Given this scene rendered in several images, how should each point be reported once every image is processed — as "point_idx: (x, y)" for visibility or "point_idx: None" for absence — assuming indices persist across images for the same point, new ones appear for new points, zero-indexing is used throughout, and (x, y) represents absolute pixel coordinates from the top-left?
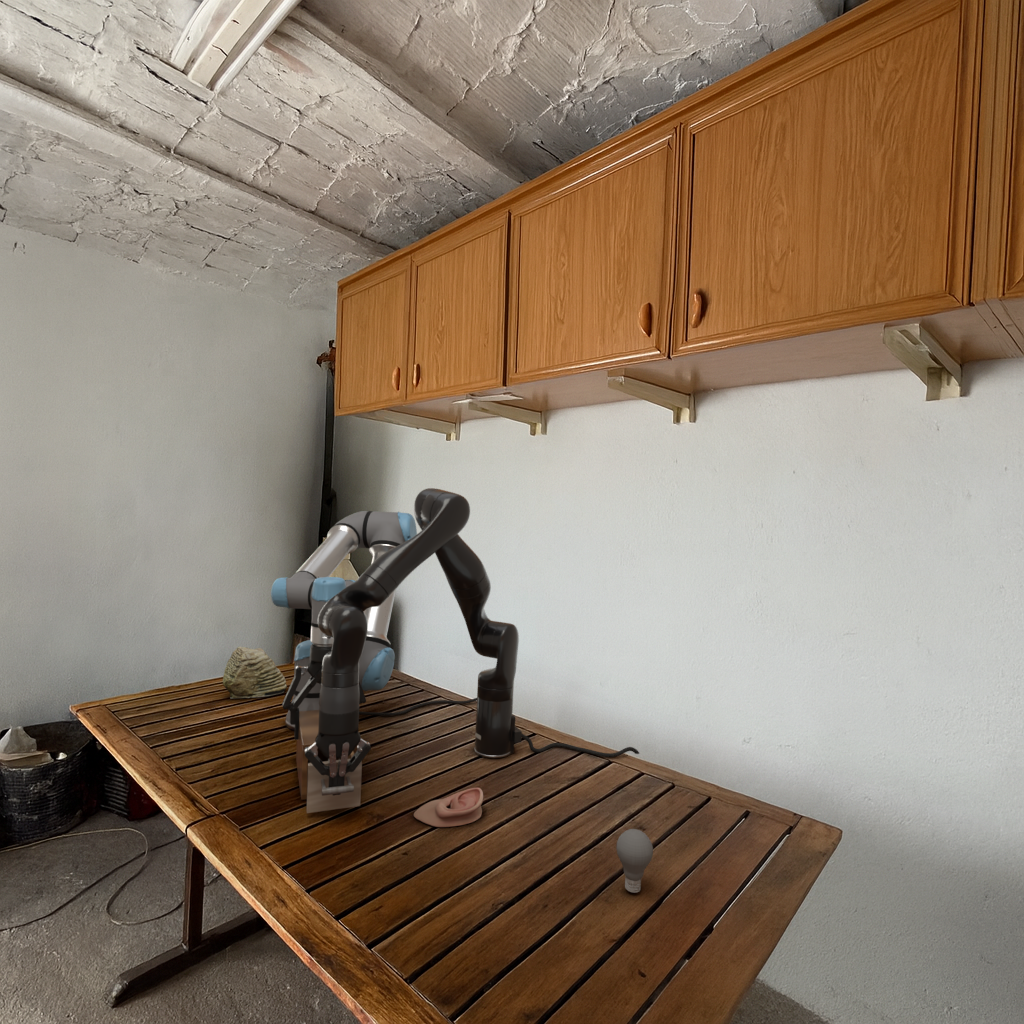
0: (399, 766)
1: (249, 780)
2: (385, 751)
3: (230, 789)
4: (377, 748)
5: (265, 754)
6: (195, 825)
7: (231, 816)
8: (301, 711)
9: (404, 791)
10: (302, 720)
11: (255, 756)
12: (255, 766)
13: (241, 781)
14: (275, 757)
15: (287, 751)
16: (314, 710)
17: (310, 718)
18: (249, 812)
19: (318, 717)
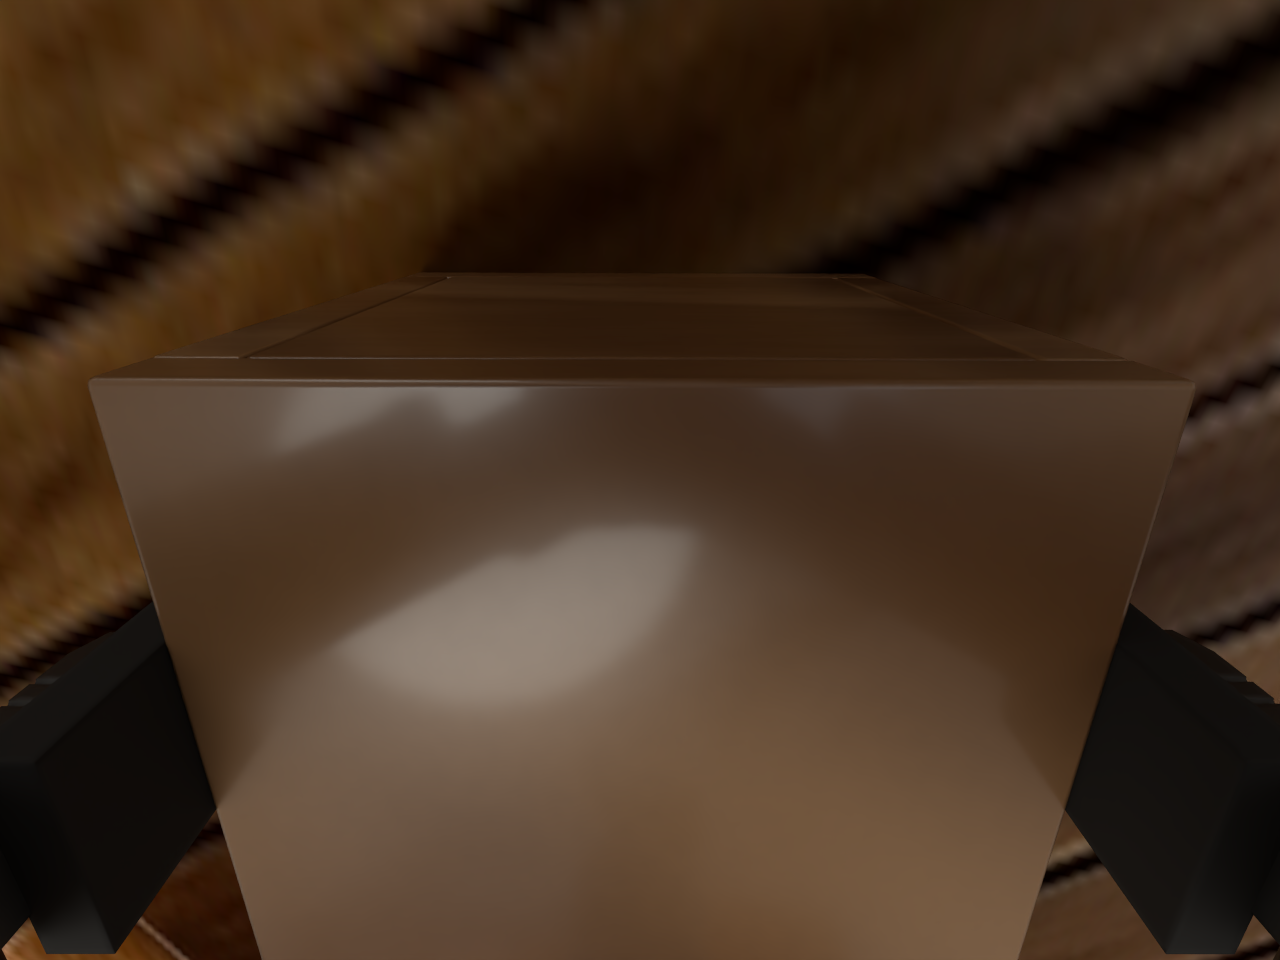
0: (1178, 617)
1: (122, 570)
2: (1227, 305)
3: (39, 663)
4: (1195, 207)
5: (100, 48)
6: (15, 949)
7: (158, 919)
8: (169, 401)
9: (1040, 901)
10: (276, 848)
11: (12, 79)
12: (89, 333)
13: (70, 572)
14: (220, 165)
15: (314, 23)
16: (455, 412)
17: (399, 800)
18: (237, 907)
19: (532, 786)
